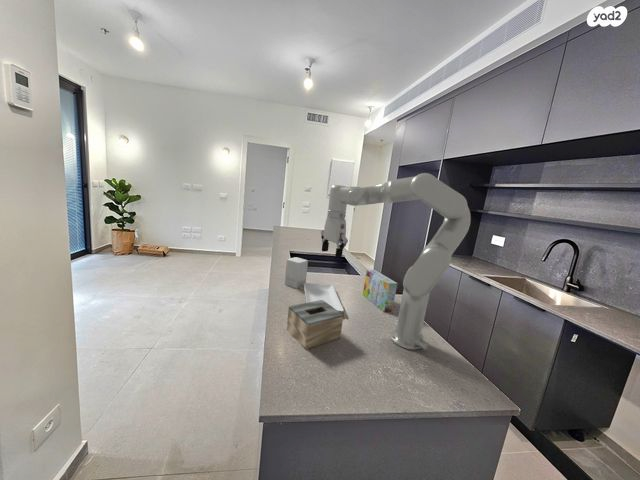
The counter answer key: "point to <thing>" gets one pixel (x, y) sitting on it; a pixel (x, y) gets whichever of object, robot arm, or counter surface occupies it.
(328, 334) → the box
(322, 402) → the counter surface
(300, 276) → the supplement box
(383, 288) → the snack box
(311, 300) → the tray
